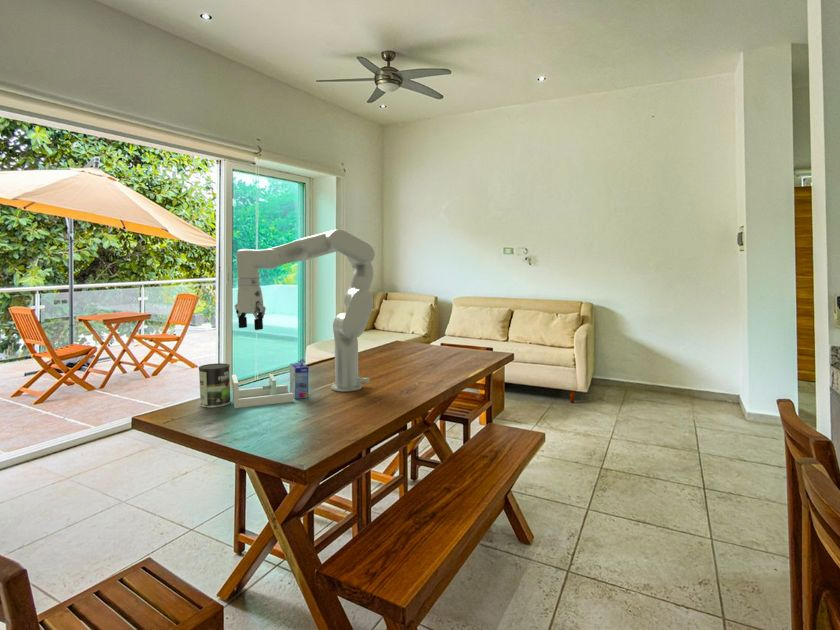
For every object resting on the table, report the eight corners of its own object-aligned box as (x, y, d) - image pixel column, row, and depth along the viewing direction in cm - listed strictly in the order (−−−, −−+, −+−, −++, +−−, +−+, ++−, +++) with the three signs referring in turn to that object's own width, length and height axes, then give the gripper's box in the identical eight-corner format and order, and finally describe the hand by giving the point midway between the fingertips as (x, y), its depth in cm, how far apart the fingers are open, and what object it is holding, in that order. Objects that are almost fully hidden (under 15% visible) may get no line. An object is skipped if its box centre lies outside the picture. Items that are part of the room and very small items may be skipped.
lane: (287, 392, 185) (286, 370, 184) (293, 401, 172) (292, 377, 171) (232, 397, 176) (231, 374, 176) (234, 408, 163) (233, 383, 163)
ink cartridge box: (309, 398, 177) (308, 361, 175) (295, 399, 174) (294, 362, 173) (303, 391, 186) (302, 356, 184) (289, 393, 183) (288, 357, 182)
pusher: (272, 393, 181) (272, 374, 180) (276, 401, 171) (275, 380, 170) (261, 395, 179) (260, 375, 179) (264, 402, 169) (264, 381, 168)
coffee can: (236, 400, 173) (235, 363, 171) (219, 408, 163) (217, 369, 161) (212, 399, 175) (210, 362, 173) (193, 406, 165) (192, 368, 163)
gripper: (271, 283, 169) (273, 329, 170) (243, 282, 179) (245, 326, 180) (254, 283, 163) (256, 331, 164) (225, 282, 172) (228, 328, 174)
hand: (250, 328), depth 172 cm, fingers open, 9 cm apart
